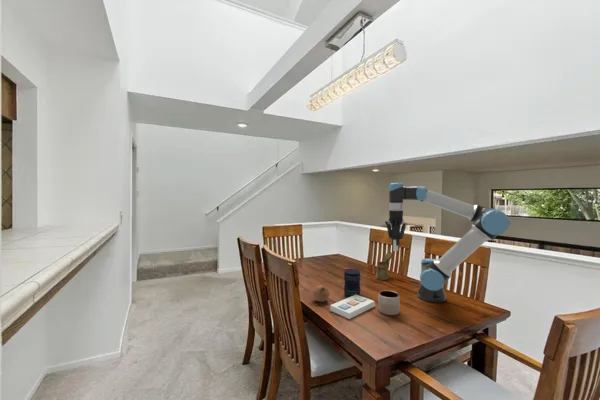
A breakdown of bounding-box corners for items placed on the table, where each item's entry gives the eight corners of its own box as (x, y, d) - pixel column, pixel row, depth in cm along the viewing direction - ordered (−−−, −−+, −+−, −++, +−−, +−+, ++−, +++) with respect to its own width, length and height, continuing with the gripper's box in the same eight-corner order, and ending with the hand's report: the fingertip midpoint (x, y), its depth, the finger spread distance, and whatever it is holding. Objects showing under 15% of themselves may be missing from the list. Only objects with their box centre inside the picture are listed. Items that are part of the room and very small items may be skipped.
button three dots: (358, 308, 154) (358, 302, 154) (353, 310, 151) (353, 304, 151) (352, 305, 158) (352, 299, 158) (346, 308, 155) (346, 301, 155)
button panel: (374, 306, 157) (374, 301, 157) (349, 319, 142) (349, 313, 142) (355, 299, 167) (355, 294, 166) (330, 310, 152) (330, 305, 152)
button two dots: (366, 304, 159) (366, 298, 159) (361, 306, 156) (361, 300, 156) (359, 302, 162) (359, 296, 162) (354, 304, 159) (354, 298, 159)
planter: (396, 318, 143) (397, 299, 143) (375, 313, 149) (375, 295, 148) (401, 309, 152) (401, 292, 152) (381, 305, 158) (381, 288, 158)
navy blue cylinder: (340, 295, 173) (340, 271, 172) (349, 290, 180) (349, 267, 179) (354, 299, 166) (354, 274, 165) (363, 294, 173) (363, 271, 172)
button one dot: (350, 312, 150) (350, 305, 149) (345, 314, 147) (345, 308, 146) (343, 309, 153) (343, 303, 153) (338, 311, 150) (338, 305, 150)
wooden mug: (395, 277, 204) (395, 253, 203) (381, 280, 198) (381, 255, 197) (386, 274, 212) (386, 250, 211) (372, 277, 206) (372, 252, 205)
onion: (324, 308, 162) (327, 296, 157) (309, 302, 165) (312, 289, 160) (329, 296, 170) (332, 284, 165) (314, 291, 173) (317, 279, 168)
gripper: (410, 210, 159) (409, 251, 160) (389, 208, 169) (389, 247, 170) (403, 211, 154) (402, 253, 155) (382, 209, 164) (382, 249, 165)
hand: (395, 250), depth 163 cm, fingers closed
